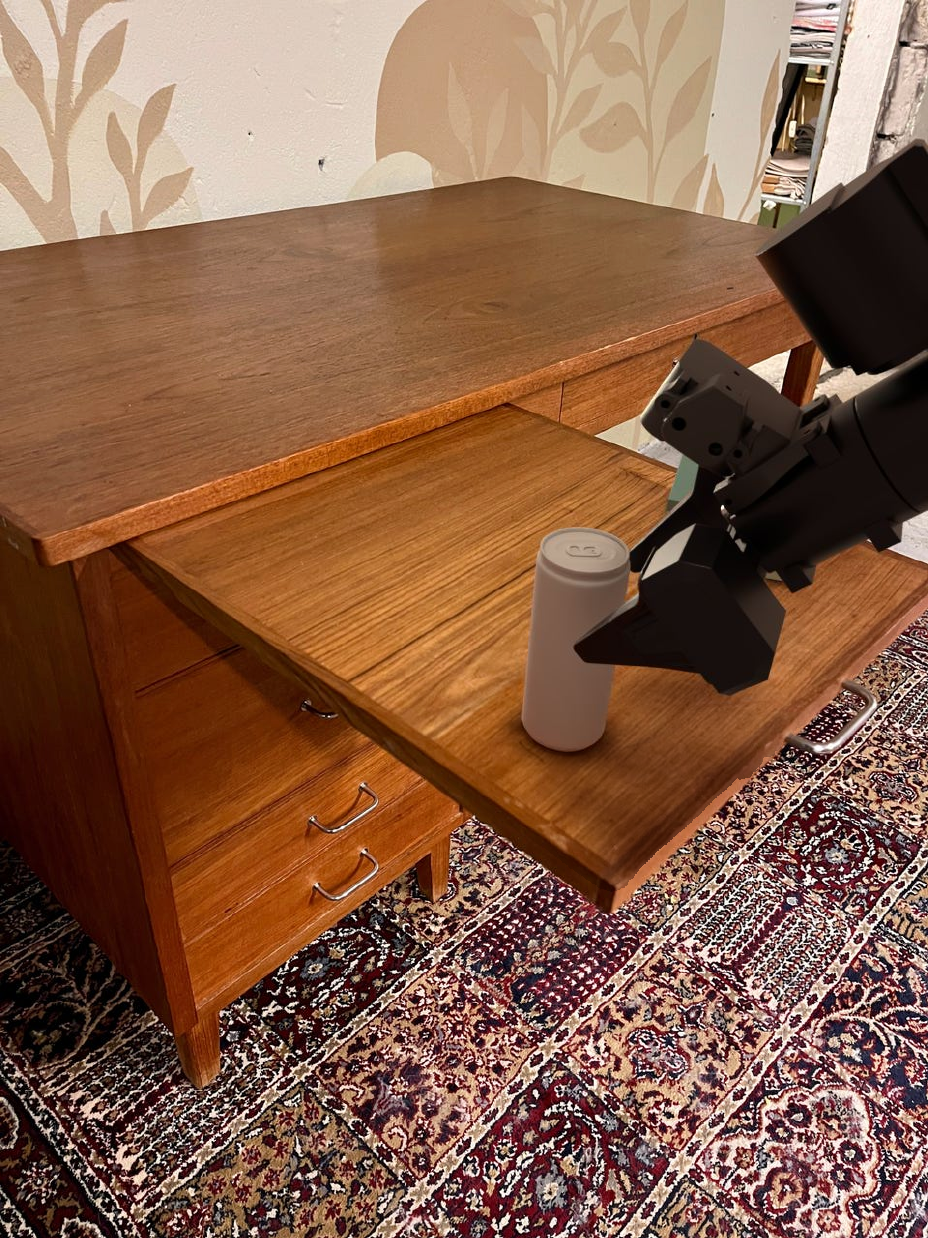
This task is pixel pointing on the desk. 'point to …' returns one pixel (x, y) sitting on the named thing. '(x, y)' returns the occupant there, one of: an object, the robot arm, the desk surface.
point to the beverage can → (571, 636)
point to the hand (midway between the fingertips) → (605, 606)
